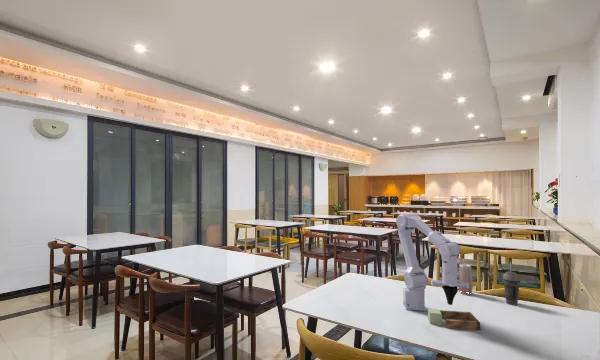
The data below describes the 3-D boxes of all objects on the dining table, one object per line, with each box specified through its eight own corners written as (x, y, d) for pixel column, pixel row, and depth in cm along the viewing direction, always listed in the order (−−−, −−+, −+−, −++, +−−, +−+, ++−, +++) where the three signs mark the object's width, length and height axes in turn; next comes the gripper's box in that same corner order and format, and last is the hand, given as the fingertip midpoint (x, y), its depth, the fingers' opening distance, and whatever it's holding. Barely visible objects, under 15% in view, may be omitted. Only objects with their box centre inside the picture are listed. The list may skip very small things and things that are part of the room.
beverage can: (456, 291, 169) (456, 263, 169) (467, 291, 169) (466, 263, 170) (463, 295, 163) (463, 266, 163) (474, 295, 163) (473, 266, 164)
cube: (430, 323, 129) (430, 313, 129) (427, 319, 133) (427, 308, 134) (441, 324, 128) (441, 313, 128) (439, 320, 133) (438, 309, 133)
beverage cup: (504, 305, 149) (504, 263, 150) (501, 299, 156) (500, 260, 157) (522, 307, 147) (522, 264, 147) (518, 301, 153) (517, 261, 154)
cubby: (446, 327, 125) (446, 320, 125) (439, 317, 135) (439, 310, 135) (480, 330, 123) (480, 322, 123) (470, 319, 133) (470, 312, 133)
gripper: (433, 273, 128) (434, 306, 127) (471, 275, 125) (472, 308, 125) (429, 268, 134) (429, 300, 134) (465, 270, 132) (465, 302, 132)
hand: (449, 303), depth 130 cm, fingers closed
